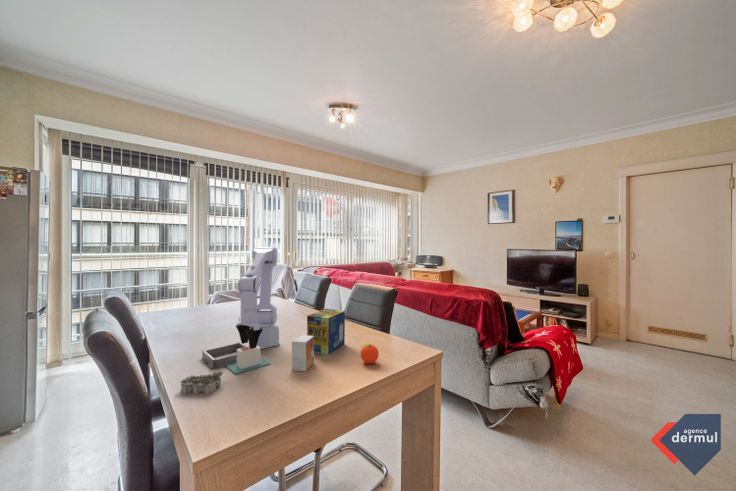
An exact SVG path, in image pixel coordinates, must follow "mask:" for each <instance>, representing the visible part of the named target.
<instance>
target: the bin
mask: <svg viewBox="0 0 736 491" xmlns="http://www.w3.org/2000/svg"><path fill="white" fill-rule="evenodd" d="M244 347H248V346H247V345H245V343H244V344H242V342H241V341H240V342H235V343H232V344H226V345H221V346H218V347H214V348H213V347H212V348H208V349H203V350H202V351H201V352H202V353H201V354H202V356H201V357H202V359H203V360H204V362H206V363H207V364H208V365H209V366H210V367H211V368H212V369H213V370H214V369H217V368H220V367H224V366H225V367H226V366H228V365H231V364H235V363H237V353H234V354H230V355H227V356H222V357H217V358H215V357H216V356H220V355H224V354H229V353H232V352H237V349H240V348H244Z"/></svg>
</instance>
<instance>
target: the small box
mask: <svg viewBox="0 0 736 491" xmlns="http://www.w3.org/2000/svg"><path fill="white" fill-rule="evenodd" d="M314 364H315V353H314V336H307V334H305V335H302V334H300V336H298V337H297V338H295V339H294V340H292V341H291V370H292V371H295V372H296V371H298V372H307V371H308V370H309V369H310V368H311V367H312V366H313V365H314Z"/></svg>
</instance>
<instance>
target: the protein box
mask: <svg viewBox="0 0 736 491" xmlns="http://www.w3.org/2000/svg"><path fill="white" fill-rule="evenodd" d="M345 317H346V310H341V309H340V310H339V309H331V308H324V309H321V310H319V311H316V312H313V313H311V314H307V316H306V336H314V355H321V356H328V357H329V356H330V355H332V354H333V353H334V352H335V351H337V350H339V349H340V348H341V347H343V346H345V344H346V343H345V338H346V337H345V336H346V335H345V333H346V331H345V328H346V318H345Z"/></svg>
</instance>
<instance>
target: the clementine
mask: <svg viewBox="0 0 736 491" xmlns="http://www.w3.org/2000/svg"><path fill="white" fill-rule="evenodd" d="M360 348H361V350H360V358H361V360H362V361H363V362H364V363H365V364H369V365H370V364H374V363H376V362H377V360H378V359H379V350H378V348H377V347H376V345H374V344H369V343H365V344H363V345H361V346H360Z"/></svg>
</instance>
